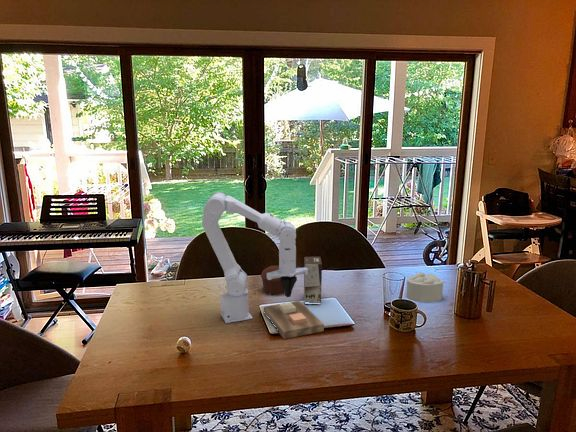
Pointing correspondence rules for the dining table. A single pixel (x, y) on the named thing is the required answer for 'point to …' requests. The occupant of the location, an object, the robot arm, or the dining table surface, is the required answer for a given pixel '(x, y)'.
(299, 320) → the terracotta key
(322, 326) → the key block
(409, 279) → the lumpy-topped squat cylinder
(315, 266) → the coffee box
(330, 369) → the dining table surface
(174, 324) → the dining table surface
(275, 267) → the muffin
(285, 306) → the cream small block
